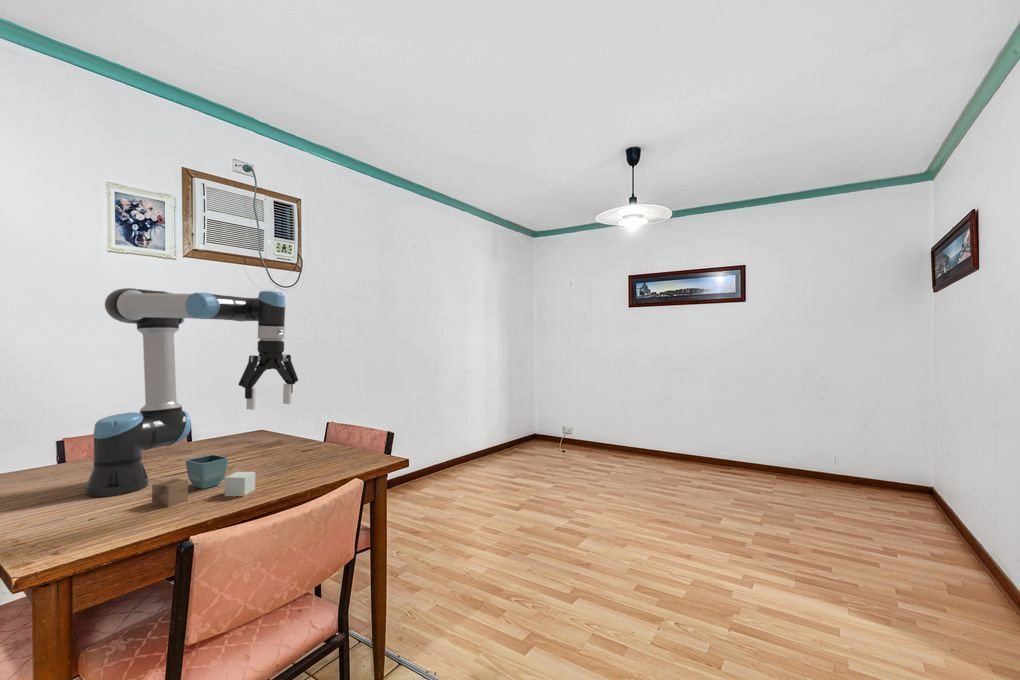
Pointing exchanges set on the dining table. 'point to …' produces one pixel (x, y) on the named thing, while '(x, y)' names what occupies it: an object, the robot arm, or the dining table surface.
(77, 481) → the dining table surface
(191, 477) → the flower pot
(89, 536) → the dining table surface
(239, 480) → the grey-green block
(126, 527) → the dining table surface
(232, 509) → the dining table surface
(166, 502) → the walnut block
